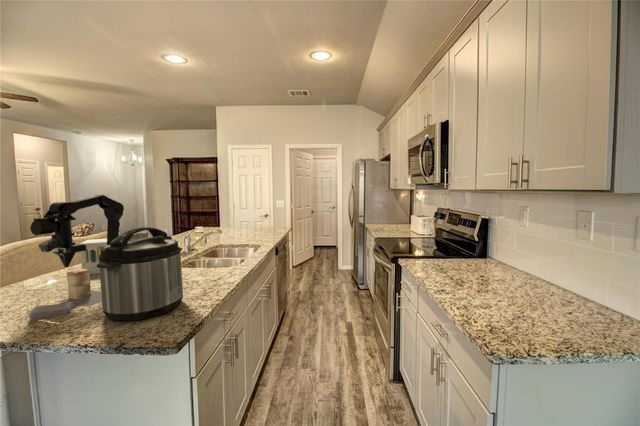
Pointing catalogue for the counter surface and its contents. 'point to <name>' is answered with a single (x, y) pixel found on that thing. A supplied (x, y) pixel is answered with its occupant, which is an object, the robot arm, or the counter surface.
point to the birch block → (78, 283)
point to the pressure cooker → (140, 275)
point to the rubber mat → (86, 299)
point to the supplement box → (92, 254)
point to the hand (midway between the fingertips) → (66, 267)
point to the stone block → (50, 310)
